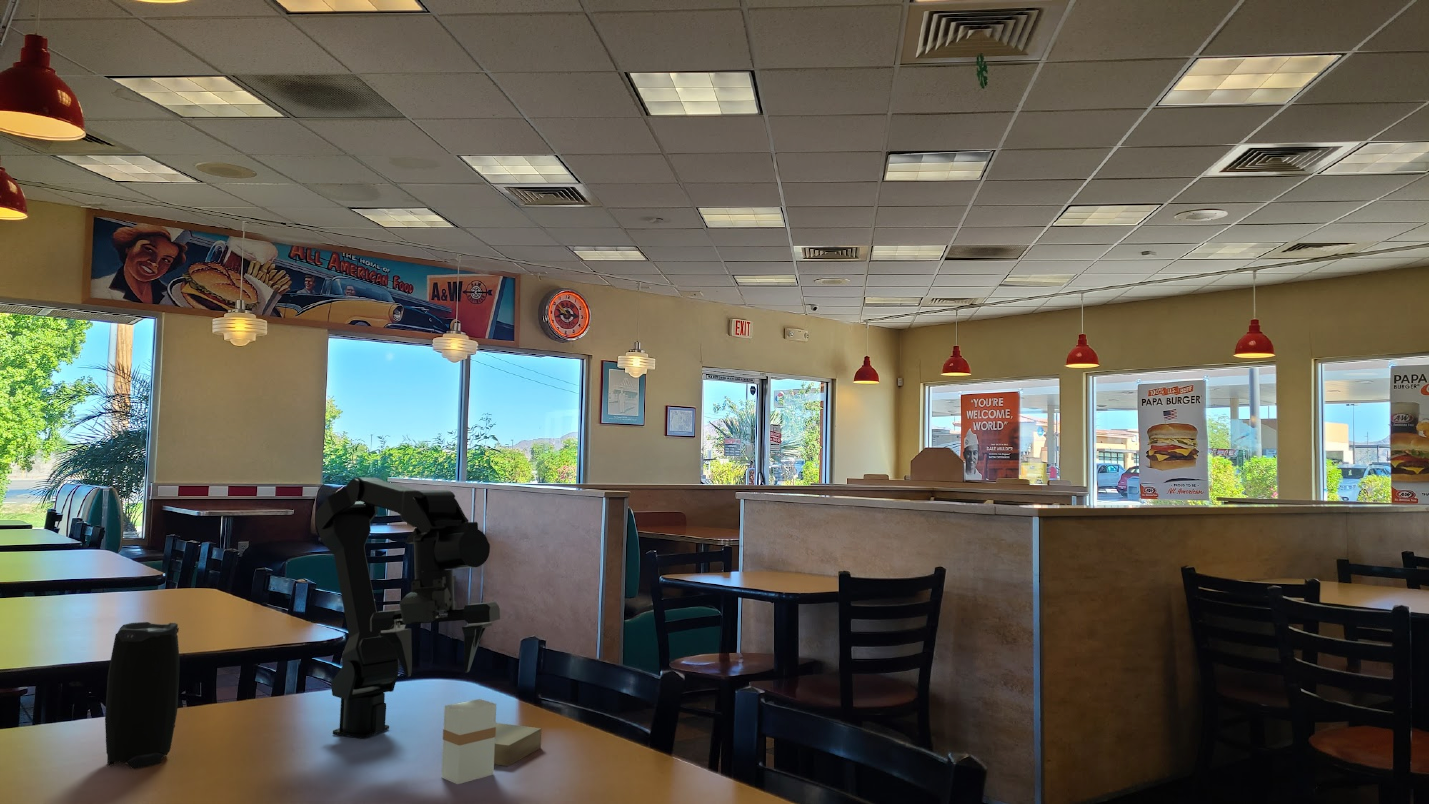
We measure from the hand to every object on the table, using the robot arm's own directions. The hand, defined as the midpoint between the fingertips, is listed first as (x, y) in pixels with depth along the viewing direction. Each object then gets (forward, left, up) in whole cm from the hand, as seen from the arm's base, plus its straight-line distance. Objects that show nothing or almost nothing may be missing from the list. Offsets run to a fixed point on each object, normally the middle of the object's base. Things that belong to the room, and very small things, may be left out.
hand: (437, 674), depth 144 cm
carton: (+10, -6, -12) cm, 17 cm away
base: (+8, +5, -12) cm, 15 cm away
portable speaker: (-37, -19, -13) cm, 44 cm away
